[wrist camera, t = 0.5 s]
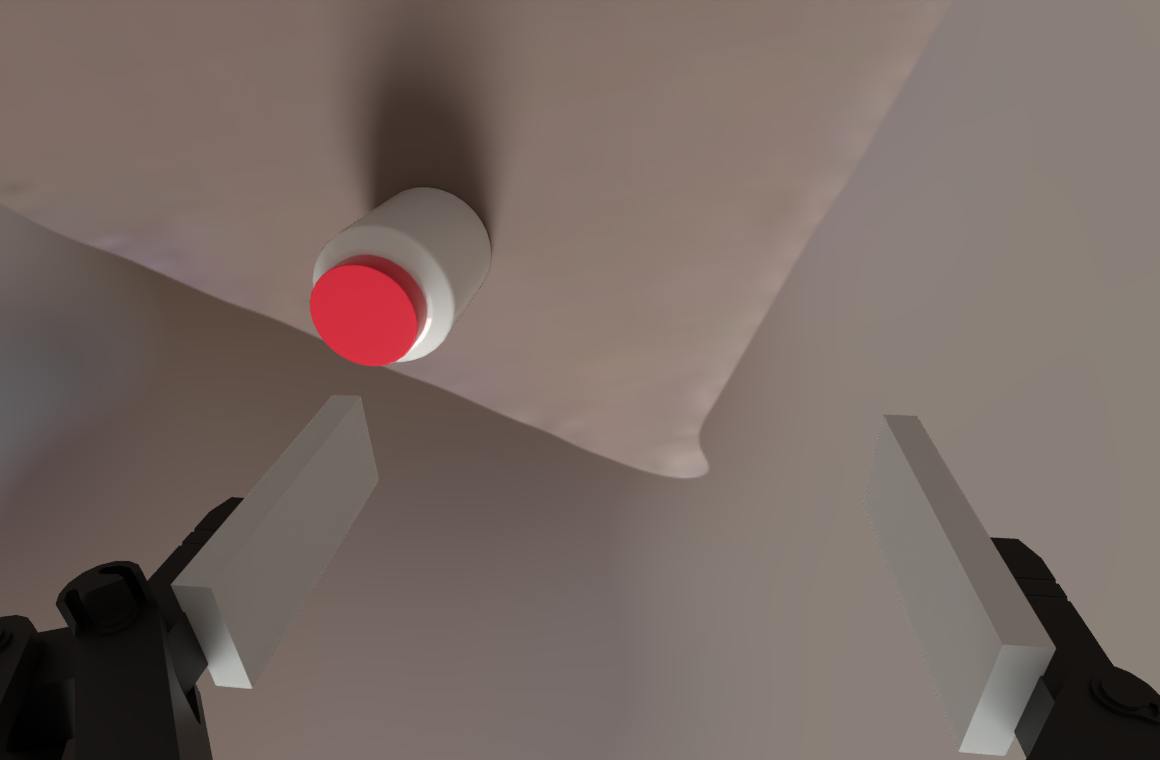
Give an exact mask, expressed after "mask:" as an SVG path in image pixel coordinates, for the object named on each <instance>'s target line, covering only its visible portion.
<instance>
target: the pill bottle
mask: <svg viewBox="0 0 1160 760" xmlns="http://www.w3.org/2000/svg"><path fill="white" fill-rule="evenodd" d="M490 264H491V245H490V240H489V237H488V234H487V231H486V229H485V227H484V225H483V223H482V221H481V219H480V218H479V217H478V215H477V214H476V213H475V212H474V210H473V209H472V208H471V207H470V206H468V205H467V204H466V203H465V202H464V201H463V200H461V199H459V198H458V197H456V196H455V195H453V194H451V193H448V192H446V191H443V190H441V189H436V188H431V187H416V188H411V189H407V190H404V191H402V192H400V193H398V194H396V195H394V196H392V197H391V198H389V199H388V200H387V201H385V202H384V203H382V204H381V205H379V206H378V207H376V208H375V209H373V210H372V211H370V212H369V213H367V214H366V215H364V216H363V217H361V218H360V219H359V220H357V221H356V222H354V223H353V224H351V225H350V226H348V227H347V228H345V229H344V230H342V231H341V232H339V233H338V234H337V235H336V236H334V237H333V238H332V239H331V240H329V241H328V242H327V244H326V245H325V246H324V248H323V249H322V250H321V252H320V254H319V256H318V258H317V261H316V263H315V266H314V272H313V290H312V293H311V299H310V312H311V316H312V320H313V323H314V325H315V327H316V329H317V331H318V333H319V334H320V336H321V337H322V339H323V340H324V341H325V342H326V343H327V344H328V346H329V347H330V348H332V349H333V350H334V351H335V352H337V353H338V354H339V355H341V356H343V357H344V358H346V359H348V360H350V361H353V362H355V363H358V364H362V365H368V366H381V365H388V364H390V363H393V362H405V361H411V360H415V359H418V358H420V357H423V356H425V355H427V354H429V353H430V352H432V351H433V350H435V349H436V348H437V347H438V346H439V345H440V344H441V343H442V342H443V341H444V340H445V338H446V337H447V336H448V334H449V333H450V331H451V330H452V328H453V327H454V325H455V324H456V322H457V321H458V319H459V318H460V317H461V315H462V314H463V312H464V311H465V309H466V308H467V306H468V305H469V303H470V302H471V300H472V299H473V298H474V296H475V295H476V293H477V292H478V290H479V289H480V287H481V286H482V284H483V282H484V281H485V279H486V277H487V275H488V272H489V268H490Z"/></svg>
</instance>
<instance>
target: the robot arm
mask: <svg viewBox="0 0 1160 760" xmlns="http://www.w3.org/2000/svg"><path fill="white" fill-rule="evenodd" d="M378 480H379V479H378V475H377V470H376V465H375V461H374V456H373V451H372V447H371V442H370V438H369V434H368V429H367V424H366V419H365V415H364V411H363V406H362V401H361V397H360V396H347V395H346V396H345V395H332V396H331V397H330V399H329V400H328V401H327V402H326V403H325V404H324V406H323V407H322V408H321V409H320V410H319V412H318V413H317V414H316V415H315V416H314V418H313V419H312V420H311V421H310V422H309V423H308V424H307V426H306V427H305V428H304V429H303V430H302V432H301V433H300V434H299V435H298V436H297V437H296V439H295V440H294V441H293V442H292V443H291V444H290V446H289V447H288V448H287V449H286V450H285V452H284V453H283V454H282V455H281V456H280V457H279V458H278V460H277V461H276V462H275V463H274V464H273V466H272V467H271V468H270V469H269V470H268V471H267V473H266V474H265V475H264V476H263V477H262V478H261V479H260V481H259V482H258V483H257V484H256V485H255V487H254V488H253V489H252V490H251V491H250V492H249V494H248V495H247V496H246V497H245V498H234V497H232V498H230V499H228V500H227V501H225V502H224V503H222V504H221V505H219V506H217V507H216V508H214V509H213V510H211V511H210V512H209V513H208V514H207V515H206V516H205V518H203V520H202V521H201V522H200V523H199V524H198V525H197V526H196V527H195V530H194V532H191V533H190V534H189V535H188V536H187V537H186V539H185V540H184V541H183V542H182V546H178V548H177V549H176V550H175V551H174V552H173V553H172V554H171V555H170V556H169V557H168V559H167V560H166V561H165V562H164V563H163V564H162V565H161V566H160V568H159V569H158V570H157V571H156V572H155V573H154V574H153V575H152V576H151V578H150V579H149V580H148V581H147V580H146V578H145V576H144V574H143V572H142V570H141V568H140V567H139V565H138V564H135V563H133V562H130V561H114V562H110V563H106V564H102V565H99V566H96V567H94V568H92V569H90V570H88V571H86V572H84V573H82V574H81V575H79V576H78V577H76V578H75V579H74V580H72V581H71V582H69V583H68V584H67V586H66V587H65V588H64V589H63V590H62V591H61V592H60V593H59V596H58V599H57V602H56V606H57V607H58V609H59V611H60V613H61V614H62V616H63V618H64V619H65V621H66V623H67V625H68V626H69V627H65V628H60V629H55V630H49V631H44V632H39V633H38V632H37V630H36V629H35V627H34V625H33V624H32V623H31V621H30V620H29V619H28V618H27V617H23V616H19V615H13V616H5V617H0V760H213V759H212V753H211V748H210V742H209V737H208V732H207V727H206V722H205V716H204V711H203V706H202V700H201V695H200V692H199V690H198V688H197V686H196V684H195V683H196V681H197V680H198V679H199V677H200V675H201V674H202V673H203V671H204V670H205V668H206V667H207V666H208V669H209V671H210V673H211V675H212V677H213V680H214V682H215V684H216V686H217V685H218V686H228V687H238V688H250V689H252V688H253V687H254V685H255V684H256V682H257V680H258V679H259V677H260V675H261V674H262V672H263V671H264V669H265V667H266V666H267V664H268V662H269V661H270V659H271V657H272V656H273V654H274V652H275V651H276V649H277V647H278V646H279V644H280V642H281V641H282V639H283V637H284V636H285V634H286V633H287V630H288V629H289V628H290V626H291V624H292V622H293V621H294V619H295V618H296V616H297V614H298V613H299V611H300V609H301V607H302V606H303V604H304V603H305V601H306V599H307V598H308V596H309V594H310V593H311V591H312V590H313V588H314V586H315V585H316V583H317V581H318V580H319V578H320V576H321V575H322V573H323V571H324V570H325V568H326V566H327V565H328V563H329V561H330V560H331V558H332V556H333V555H334V553H335V552H336V550H337V548H338V546H339V545H340V543H341V542H342V540H343V538H344V536H345V535H346V533H347V532H348V530H349V528H350V526H351V525H352V523H353V521H354V520H355V518H356V517H357V515H358V513H359V512H360V510H361V509H362V507H363V505H364V504H365V502H366V500H367V499H368V497H369V495H370V494H371V492H372V490H373V489H374V487H375V485H376V484H377V482H378ZM863 506H864V509H865V511H866V514H867V517H868V519H869V522H870V524H871V527H872V529H873V532H874V535H875V537H876V540H877V542H878V545H879V547H880V550H881V553H882V555H883V558H884V560H885V563H886V566H887V568H888V571H889V573H890V576H891V579H892V581H893V583H894V586H895V589H896V592H897V594H898V597H899V599H900V602H901V604H902V607H903V610H904V612H905V615H906V617H907V620H908V622H909V625H910V628H911V630H912V633H913V635H914V638H915V641H916V643H917V646H918V648H919V650H920V654H921V656H922V659H923V661H924V664H925V666H926V669H927V672H928V674H929V677H930V679H931V682H932V685H933V687H934V690H935V692H936V695H937V698H938V700H939V703H940V705H941V708H942V710H943V713H944V715H945V718H946V721H947V723H948V726H949V728H950V731H951V733H952V736H953V739H954V742H955V744H956V747H957V749H958V752H967V753H979V754H989V755H1000V756H1005V755H1006V753H1007V751H1008V749H1009V747H1010V745H1011V743H1012V741H1013V738H1014V736H1015V735H1016V737H1017V739H1018V741H1019V743H1020V745H1021V747H1022V749H1023V751H1024V754H1025V756H1026V758H1027V759H1026V760H1160V695H1159V694H1158V693H1157V692H1156V691H1155V690H1154V689H1153V688H1152V687H1151V686H1150V685H1148V684H1147V683H1146V682H1144V681H1142V680H1141V679H1139V678H1138V677H1136V676H1135V675H1133V674H1132V673H1130V672H1128V671H1125V670H1123V669H1120V668H1118V667H1115V666H1113V664H1112V663H1111V661H1110V660H1109V658H1108V657H1107V655H1106V654H1105V652H1104V651H1103V649H1102V648H1101V646H1100V645H1099V644H1098V642H1097V641H1096V639H1095V637H1094V636H1093V634H1092V633H1091V631H1090V630H1089V628H1088V627H1087V626H1086V624H1085V623H1084V621H1083V619H1082V618H1081V617H1080V615H1079V614H1078V612H1077V611H1076V609H1075V608H1074V606H1073V605H1072V603H1071V602H1070V601H1068V600H1067V596H1066V594H1065V593H1064V591H1063V590H1062V588H1061V587H1060V585H1059V584H1056V580H1055V578H1054V576H1053V575H1052V574H1051V572H1050V570H1049V569H1048V567H1047V566H1046V564H1045V563H1044V561H1043V560H1042V558H1041V557H1039V556H1038V555H1037V554H1036V553H1034V552H1033V551H1032V550H1031V549H1029V548H1028V547H1027V546H1026V545H1025V544H1023V543H1022V542H1021V541H1019V539H1009V538H991V537H989V535H988V534H987V532H986V530H985V529H984V527H983V526H982V524H981V522H980V521H979V519H978V517H977V515H976V514H975V512H974V510H973V509H972V507H971V506H970V504H969V502H968V500H967V499H966V497H965V495H964V494H963V492H962V490H961V489H960V487H959V485H958V484H957V482H956V480H955V479H954V478H953V475H952V474H951V472H950V470H949V469H948V467H947V465H946V464H945V462H944V460H943V459H942V457H941V455H940V454H939V452H938V450H937V449H936V447H935V445H934V444H933V442H932V440H931V439H930V437H929V435H928V434H927V432H926V430H925V429H924V427H923V425H922V424H921V422H920V420H919V419H918V417H917V416H903V415H902V416H901V415H883V419H882V423H881V427H880V432H879V436H878V440H877V445H876V449H875V454H874V459H873V462H872V467H871V471H870V475H869V480H868V484H867V489H866V493H865V497H864V502H863Z"/></svg>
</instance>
